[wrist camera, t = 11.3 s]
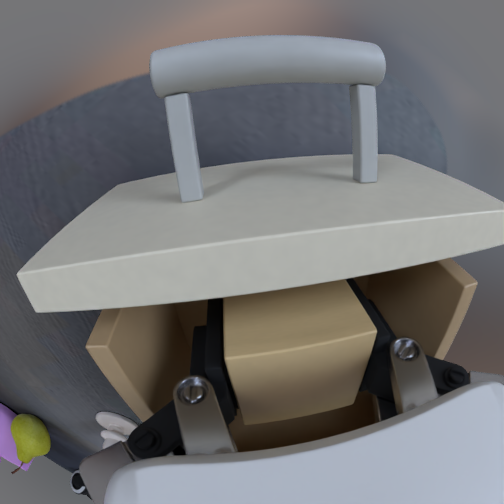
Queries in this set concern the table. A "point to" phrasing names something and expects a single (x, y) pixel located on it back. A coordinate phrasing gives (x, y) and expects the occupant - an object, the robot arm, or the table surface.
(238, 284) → the drawer
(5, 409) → the teapot
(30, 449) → the fruit
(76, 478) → the headphones
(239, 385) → the block
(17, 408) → the table surface
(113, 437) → the candle
